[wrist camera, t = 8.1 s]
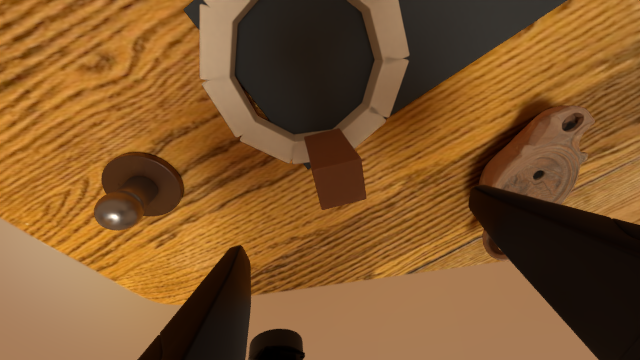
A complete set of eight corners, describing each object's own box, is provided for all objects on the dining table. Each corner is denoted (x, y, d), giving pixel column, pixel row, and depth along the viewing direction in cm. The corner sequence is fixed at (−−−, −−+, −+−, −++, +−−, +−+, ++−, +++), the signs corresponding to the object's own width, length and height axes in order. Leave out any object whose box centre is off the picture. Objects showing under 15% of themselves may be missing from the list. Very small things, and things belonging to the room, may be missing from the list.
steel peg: (172, 220, 20) (145, 263, 16) (100, 197, 18) (49, 239, 14) (192, 170, 18) (167, 205, 14) (114, 139, 16) (60, 169, 12)
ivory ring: (336, 178, 19) (359, 233, 14) (176, 101, 15) (113, 135, 9) (433, 32, 15) (525, 24, 10) (252, -126, 11) (221, -310, 5)
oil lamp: (512, 90, 18) (584, 104, 14) (584, 110, 20) (668, 128, 16) (435, 227, 24) (469, 267, 20) (496, 234, 26) (540, 272, 21)
